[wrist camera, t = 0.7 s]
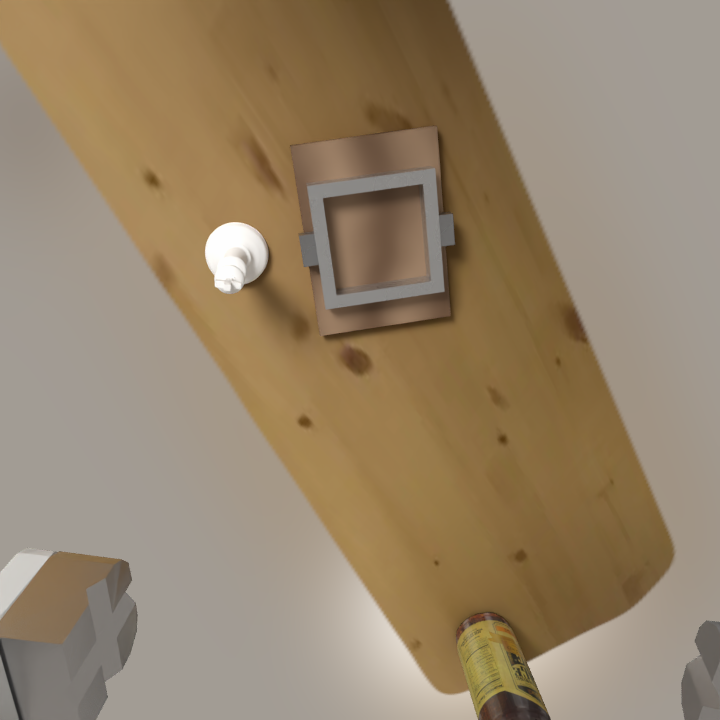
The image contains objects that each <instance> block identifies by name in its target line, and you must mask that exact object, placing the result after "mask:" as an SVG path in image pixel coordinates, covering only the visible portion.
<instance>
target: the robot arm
mask: <svg viewBox="0 0 720 720" xmlns="http://www.w3.org/2000/svg"><path fill="white" fill-rule="evenodd" d="M131 581H132V577H131V573H130V568H129V563H128V562H126V561H124V560H121V559H114V558H106V557H98V556H91V555H83V554H76V553H68V552H61V551H59V552H54V551H48V550H40V549H33V548H27V549H24V550H23V551H20V552H18V553H17V554H16V555H15V556H14V557H13V558H12V560H11V561H10V562H9V563H8V564H7V565H6V567H5V568H4V569H3V570H2V571H1V572H0V720H96V718H97V716H98V715H99V713H100V711H101V709H102V707H103V705H104V703H105V701H106V699H107V698H108V696H107V691H106V685H105V681H106V680H108V679H109V678H111V677H112V676H114V675H115V674H116V673H118V672H119V671H121V670H122V669H123V667H124V665H125V663H126V661H127V659H128V657H129V655H130V653H131V650H132V646H133V642H134V639H135V635H136V632H137V608H136V603H135V602H134V601H133V599H132V598H131V597H130V596H129V595H128V594H127V593H126V592H125V591H126V590H127V588H128V586H129V584H130V583H131ZM695 643H696V645H697V647H698V650H699V652H700V656H698V657H697V658H695V659H694V660H692V661H691V662H689V663H688V664H687V665H686V668H685V672H684V675H683V679H682V708H683V713H684V718H685V720H720V622H715V621H706V622H704V623H703V624H702V626H700V627H699V630H698V633H697V636H696V639H695Z"/></svg>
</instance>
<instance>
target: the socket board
mask: <svg viewBox="0 0 720 720" xmlns="http://www.w3.org/2000/svg"><path fill="white" fill-rule="evenodd" d="M290 147H291V153H292V160H293V166H294V172H295V179H296V185H297V192H298V198H299V204H300V211H301V217H302V224H303V230H304V233H305V232H312V231H313V224H312V218H311V211H310V205H309V198H308V191H307V185H306V183H311V182H318V181H325V180H332V179H340V178H347V177H354V176H361V175H368V174H375V173H382V172H389V171H396V170H403V169H411V168H418V167H425V166H432V167H434V168H435V172H436V185H437V198H438V211H439V213H443V202H442V188H441V174H440V160H439V146H438V133H437V126H427V127H420V128H413V129H406V130H398V131H391V132H384V133H377V134H369V135H362V136H355V137H347V138H340V139H333V140H326V141H318V142H311V143H304V144H296V145H290ZM323 204H324V211H325V218H326V225H327V232H328V239H329V246H330V253H331V260H332V267H333V274H334V281H335V288H336V289H340V288H347V287H354V286H360V285H367V284H374V283H380V282H387V281H394V280H400V279H407V278H414V277H420V276H426V264H425V253H424V241H423V229H422V218H421V206H420V194H419V185H412V186H405V187H398V188H391V189H384V190H377V191H370V192H363V193H356V194H349V195H342V196H335V197H328V198H323ZM441 251H442V265H443V278H444V291H445V292H439V293H433V294H426V295H419V296H413V297H406V298H400V299H393V300H386V301H380V302H373V303H367V304H360V305H353V306H347V307H340V308H334V309H327V310H326V309H325V304H324V297H323V291H322V284H321V278H320V271H319V265H314V266H309V268H310V275H311V281H312V287H313V294H314V300H315V307H316V313H317V319H318V326H319V332H320V336H323V335H330V334H336V333H343V332H349V331H356V330H362V329H369V328H375V327H382V326H388V325H395V324H401V323H408V322H414V321H421V320H427V319H434V318H440V317H447V316H451V312H450V298H449V284H448V271H447V257H446V246H442V247H441Z"/></svg>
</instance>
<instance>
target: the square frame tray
mask: <svg viewBox="0 0 720 720" xmlns="http://www.w3.org/2000/svg"><path fill="white" fill-rule="evenodd" d="M306 185H307V191H308V198H309V205H310V211H311V218H312V224H313V231H312V232H305V233H299V239H300V245H301V251H302V258H303V264H304V267H307V266H314V265H319V271H320V278H321V284H322V291H323V297H324V304H325V309H326V310H327V309H334V308H340V307H347V306H353V305H360V304H367V303H373V302H380V301H386V300H393V299H400V298H406V297H413V296H419V295H426V294H433V293H439V292H445V291H444V278H443V265H442V251H441V247H442V246H449V245H455V239H454V224H453V213H451V212H443V213H439V211H438V198H437V185H436V172H435V168H434V167H432V166H425V167H418V168H411V169H403V170H396V171H389V172H382V173H375V174H368V175H361V176H354V177H347V178H340V179H332V180H325V181H318V182H311V183H306ZM412 185H419V194H420V206H421V218H422V229H423V241H424V253H425V264H426V276H420V277H414V278H407V279H400V280H394V281H387V282H380V283H374V284H367V285H360V286H354V287H347V288H340V289H336V288H335V281H334V274H333V267H332V260H331V253H330V246H329V239H328V232H327V225H326V218H325V211H324V204H323V198H328V197H335V196H342V195H349V194H356V193H363V192H370V191H377V190H384V189H391V188H398V187H405V186H412Z"/></svg>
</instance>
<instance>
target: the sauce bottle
mask: <svg viewBox="0 0 720 720" xmlns="http://www.w3.org/2000/svg"><path fill="white" fill-rule="evenodd" d="M456 642H457V650H458V655H459V658H460V661H461V664H462V668H463V671H464V674H465V678H466V681H467V684H468V688H469V691H470V694H471V698H472V701H473V704H474V708H475V711H476V714H477V717H478V720H551V719H550V716H549V714H548V712H547V709H546V707H545V704H544V702H543V700H542V697H541V695H540V693H539V690H538V688H537V686H536V683H535V681H534V678H533V676H532V674H531V671H530V668H529V667H528V664H527V662H526V660H525V657H524V655H523V653H522V650H521V648H520V646H519V643H518V641H517V639H516V636H515V634H514V632H513V630H512V629H511V627H510V626H509V624H508V622H507V621H505V620H504V619H503V618H502V617H501V616H498V615H497V614H495V613H490V612H487V613H481V614H476V615H474V616H471V617H469V618H468V619H466V620H465V621H464V622H463V623H461V625H460V627H459V628H458V629H457V634H456Z"/></svg>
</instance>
